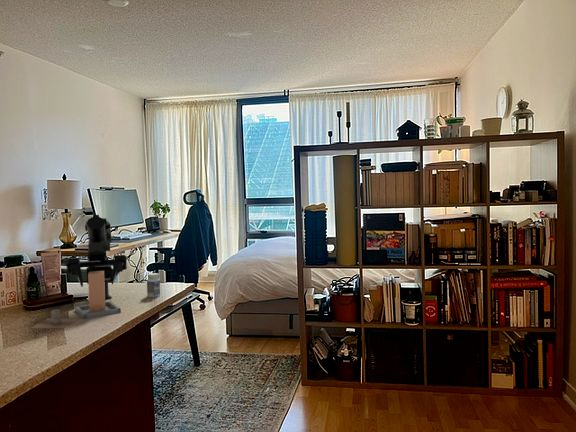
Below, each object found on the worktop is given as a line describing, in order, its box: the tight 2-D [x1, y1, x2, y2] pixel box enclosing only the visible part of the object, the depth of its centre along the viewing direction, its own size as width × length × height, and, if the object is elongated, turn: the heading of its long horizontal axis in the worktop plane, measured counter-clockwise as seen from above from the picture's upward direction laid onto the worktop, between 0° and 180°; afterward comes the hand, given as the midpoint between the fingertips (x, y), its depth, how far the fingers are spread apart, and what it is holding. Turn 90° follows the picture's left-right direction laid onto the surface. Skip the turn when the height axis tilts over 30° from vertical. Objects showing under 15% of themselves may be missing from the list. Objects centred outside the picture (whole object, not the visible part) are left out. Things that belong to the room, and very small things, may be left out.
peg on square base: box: [29, 309, 80, 330], centre depth 129 cm, size 10×10×4 cm
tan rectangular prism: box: [88, 271, 106, 313], centre depth 139 cm, size 6×5×13 cm
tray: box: [75, 301, 122, 320], centre depth 141 cm, size 12×11×2 cm
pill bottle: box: [146, 272, 161, 298], centre depth 164 cm, size 5×5×8 cm
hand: (97, 284), depth 143 cm, fingers open, 9 cm apart
